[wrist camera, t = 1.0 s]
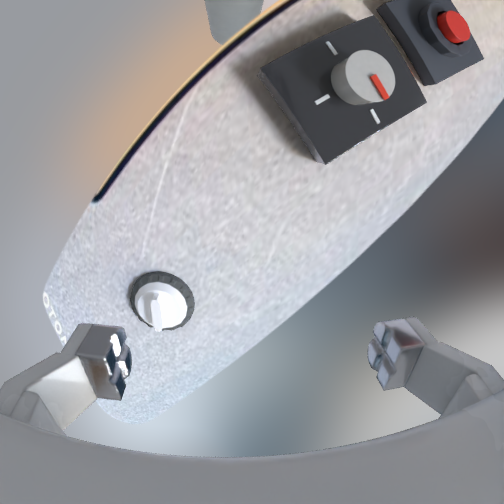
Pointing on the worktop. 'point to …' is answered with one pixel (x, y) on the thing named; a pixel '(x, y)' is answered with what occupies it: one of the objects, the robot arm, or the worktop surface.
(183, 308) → the stove knob
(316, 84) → the hob knob base
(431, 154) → the worktop surface
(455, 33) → the button
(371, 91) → the knob
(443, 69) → the block
